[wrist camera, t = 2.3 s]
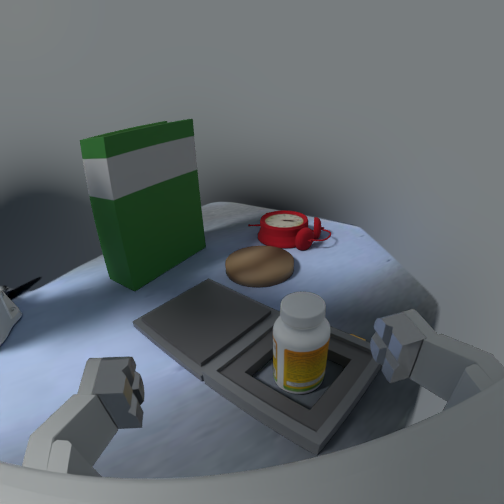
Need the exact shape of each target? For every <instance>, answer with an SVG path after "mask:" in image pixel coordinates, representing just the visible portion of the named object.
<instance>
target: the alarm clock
mask: <svg viewBox="0 0 504 504" xmlns="http://www.w3.org/2000/svg"><path fill="white" fill-rule="evenodd" d="M248 226H261V228H260V231H259V233H258V240H259V241H260V242H261V243H263V244H265V245H267V246H273V247H278V248H293V247H296V248H297V249H299V250H306V249H308V248H309V247H310V246H311V245H312V243H313V241H325V240H327V239H328V238H329V237H330V236H331V232H330V231H328V230H325V229H324V227H321V221H320V219H319V218H317V217H314V230H311V229H310V228H308V218H307V217H306V216H305V215H304V214H302V213H299V212H294V211H274V212H270V213H266V214H265V215H263V216H262V217H261V220H260V224H258V225H250V224H249V225H248ZM321 230H324V231H327V232H329V233H330V235H329V236H328V237H327V238H326V239H323V240H315V239H318V238H319V237H320V234H321ZM313 232H314V233H313Z"/></svg>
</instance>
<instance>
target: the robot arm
mask: <svg viewBox="0 0 504 504" xmlns="http://www.w3.org/2000/svg"><path fill="white" fill-rule="evenodd" d="M21 316H22V313H21V311H20V309H19V308H18V307H17V306H16V305H15V304H14V303H13V302H12V301H11V300H10V299H9V297H8V296H7V295H6V294H5V293H4V292H3V291H2V290H1V289H0V345H1V344H2V343H3V342H4V340H5V339H6V338H7V336H8V334H9V332H10V330H11V328H12V327H13V325H14V324H15V323H16V322H17V321H18V320H19V319H20V318H21ZM374 329H375V330H376V333H375V334H374V335H373V336H372V338H371V343H370V347H371V353H372V356H373V358H374V360H375V361H376V362H377V363H379V364H381V365H383V366H382V372H383V374H384V375H385V377H386V379H387V380H388V382H389V383H393V382H397V381H400V380H403V379H406V378H409V377H410V379H411V380H413V381H415V382H416V383H418V384H419V385H421V386H423V387H424V388H426V389H428V390H429V391H431V392H433V393H434V394H436V395H438V396H439V397H441V398H442V399H444V400H446V401H447V404H446V406H445V407H444V409H443V411H442V412H440V413H438V414H436V415H434V416H432V417H429V418H427V419H425V420H423V421H421V422H418V423H416V424H413V425H411V426H408V427H406V428H404V429H401V430H398V431H396V432H393V433H391V434H388V435H385V436H383V437H380V438H377V439H374V440H371V441H368V442H365V443H362V444H359V445H356V446H353V447H350V448H346V449H343V450H340V451H336V452H333V453H329V454H325V455H322V456H318V457H314V458H310V459H306V460H301V461H297V462H293V463H288V464H283V465H278V466H273V467H268V468H262V469H256V470H250V471H243V472H236V473H228V474H220V475H210V476H198V477H183V478H155V479H137V478H109V477H102V476H101V475H100V474H99V473H98V472H97V471H96V470H95V469H94V468H93V467H92V466H93V465H94V464H95V462H96V461H97V459H98V458H99V457H100V455H101V454H102V452H103V451H104V449H105V448H106V447H107V445H108V444H109V442H110V441H111V440H112V438H113V437H114V435H115V434H116V433H117V431H118V429H125V428H142V420H143V410H142V408H141V406H140V405H141V404H142V403H143V402H144V385H143V381H142V378H141V376H140V374H139V373H137V372H136V371H135V369H136V364H135V361H134V359H133V358H132V357H105V358H89V359H88V360H87V362H86V366H85V369H84V372H83V376H82V379H81V383H80V386H79V390H78V394H75V395H72V396H71V397H70V398H69V399H68V400H67V401H66V402H65V403H64V404H63V405H62V406H61V407H60V408H59V409H58V410H57V411H55V412H54V413H53V414H52V415H51V416H50V417H49V418H48V419H47V420H46V421H45V422H44V423H43V424H42V425H41V426H40V427H39V428H38V429H36V430H35V431H34V432H33V433H32V434H31V435H30V438H29V442H28V445H27V449H26V453H25V456H24V460H23V464H22V466H20V465H15V464H11V463H7V462H2V461H0V504H504V367H503V365H502V364H501V363H500V362H499V361H498V360H497V359H496V358H495V357H494V355H493V354H491V353H488V352H486V351H483V350H481V349H478V348H475V347H473V346H470V345H468V344H466V343H463V342H461V341H458V340H456V339H453V338H450V337H448V336H446V335H443V334H439V335H438V334H437V333H436V332H435V331H434V330H433V328H432V327H431V326H430V325H429V324H428V323H427V322H426V321H425V320H424V319H423V317H422V316H421V315H420V314H419V313H418V312H417V311H416V310H414V309H411V310H407V311H403V312H401V313H396V314H393V315H389V316H385V317H381V318H377V320H376V321H375V324H374Z"/></svg>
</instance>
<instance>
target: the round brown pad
mask: <svg viewBox="0 0 504 504" xmlns="http://www.w3.org/2000/svg"><path fill="white" fill-rule="evenodd" d="M225 265H226V274H227V276H228V277H229V279H230V280H232V281H233V282H235V283H237V284H240V285H243V286H248V287H268V286H273V285H277V284H279V283H282V282H284V281H286V280H287V279H288V278H290V276H291V275H292V274H293V271H294V259H293V257H292V255H291V254H290V253H289V252H287V251H285V250H283V249H281V248H278V247H273V246H251V247H246V248H242V249H239V250H237V251H235V252H233V253H232V254H230V255H229V256H228V258H227V259H226V262H225Z"/></svg>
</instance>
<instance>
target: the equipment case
mask: <svg viewBox="0 0 504 504" xmlns="http://www.w3.org/2000/svg"><path fill="white" fill-rule="evenodd" d="M279 316H280V312H279V311H277V310H275V309H273V308H270V307H268V306H266V305H264V304H262V303H260V302H257V301H255V300H253V299H251V298H249V297H247V296H244V295H242V294H240V293H238V292H236V291H234V290H232V289H230V288H227V287H225V286H223V285H221V284H219V283H217V282H215V281H213V280H211V279H209V278H208V279H207V280H205V281H203V282H201V283H200V284H198V285H196V286H194V287H193V288H191V289H189V290H187V291H186V292H184V293H182V294H180V295H178V296H177V297H175V298H173V299H171V300H170V301H168V302H166V303H164V304H163V305H161V306H159V307H157V308H156V309H154V310H152V311H150V312H149V313H147V314H145V315H143V316H141V317H140V318H138V319H136V320H134V321H133V325H134V327H135V328H136V329H138V330H139V331H140V332H141V333H142V334H143V335H145V336H146V337H147V338H148V339H149V340H150V341H152V342H153V343H154V344H155V345H156V346H158V347H159V348H160V349H161V350H162V351H164V352H165V353H166V354H167V355H169V356H170V357H171V358H172V359H174V360H175V361H176V362H177V363H179V364H180V365H181V366H183V367H184V368H185V369H186V370H188V371H189V372H190V373H192V374H193V375H194V376H196V377H197V378H198V379H200V380H201V381H203V380H204V381H205V384H206V385H208V386H209V387H210V388H212V389H213V390H215V391H216V392H217V393H219V394H220V395H222V396H223V397H224V398H226V399H227V400H229V401H230V402H232V403H233V404H234V405H236V406H237V407H239V408H240V409H242V410H243V411H245V412H246V413H248V414H249V415H251V416H252V417H254V418H255V419H257V420H258V421H260V422H261V423H263V424H265V425H266V426H268V427H269V428H271V429H273V430H274V431H276V432H277V433H279V434H281V435H282V436H284V437H286V438H287V439H289V440H291V441H292V442H294V443H296V444H297V445H299V446H301V447H303V448H304V449H306V450H308V451H310V452H311V453H313V454H315V455H318V453H319V452H320V451H321V450H322V449H323V447H324V446H325V445H326V444H327V442H328V441H329V440H330V439H331V437H332V436H333V435H334V434H335V432H336V431H337V430H338V428H339V427H340V426H341V424H342V423H343V422H344V420H345V419H346V418H347V416H348V415H349V414H350V412H351V411H352V410H353V408H354V407H355V405H356V404H357V403H358V401H359V400H360V398H361V397H362V395H363V394H364V392H365V391H366V390H367V388H368V387H369V385H370V384H371V382H372V381H373V379H374V378H375V376H376V374H377V373H378V371H379V370H380V368H381V367H382V365H381V364H379V363H377V362H376V361H375V360H374V358H373V356H372V353H371V347H370V342H367V341H366V340H365V339H363V338H360V337H358V336H355V335H353V334H348V333H346V332H343V331H341V330H338V329H336V328H334V327H331V326H330V340H329V347H328V354H327V359H329V360H331V361H333V362H336V363H338V364H340V365H342V366H344V367H345V369H344V370H343V371H342V372H341V374H340V375H339V376H338V377H337V379H336V380H335V381H334V382H333V383H332V385H331V386H330V387H329V388H328V390H327V391H326V392H325V393H324V394H323V395H322V397H321V398H320V399H319V400H318V401H317V402H316V404H315V405H314V406H313V407H312V408H311V409H310V410H309V409H307V408H305V407H303V406H301V405H300V404H298V403H296V402H294V401H292V400H291V399H289V398H287V397H285V396H284V395H282V394H280V393H278V392H277V391H275V390H273V389H271V388H270V387H268V386H266V385H265V384H263V383H261V382H260V381H258V380H256V379H255V378H253V377H251V376H252V375H253V374H254V373H256V372H257V371H258V370H259V369H260V368H261V367H262V366H264V365H265V364H266V363H267V362H268V361H269V360H270V359H271V358H273V326H274V323H275V321H276V320H277V318H278V317H279Z"/></svg>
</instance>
